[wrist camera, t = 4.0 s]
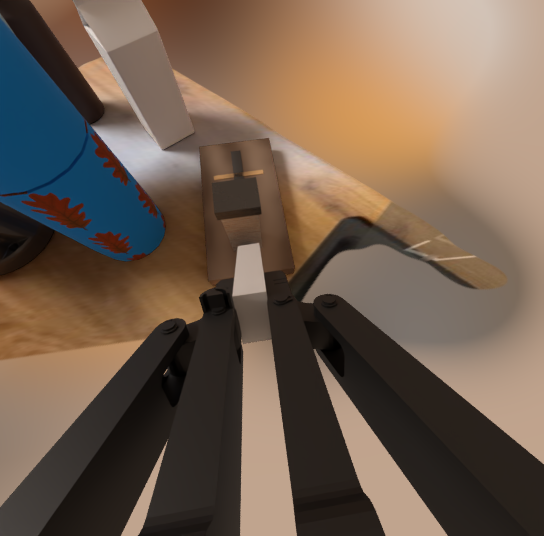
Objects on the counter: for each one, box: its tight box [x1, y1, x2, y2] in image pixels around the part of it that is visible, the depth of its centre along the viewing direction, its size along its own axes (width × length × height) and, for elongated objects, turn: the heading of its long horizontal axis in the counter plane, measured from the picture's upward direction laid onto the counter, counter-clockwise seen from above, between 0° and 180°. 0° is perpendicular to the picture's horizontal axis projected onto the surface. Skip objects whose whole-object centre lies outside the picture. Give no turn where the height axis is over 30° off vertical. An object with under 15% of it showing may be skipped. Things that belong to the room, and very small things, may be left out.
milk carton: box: [73, 0, 195, 150], centre depth 35 cm, size 7×7×19 cm
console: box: [199, 138, 295, 285], centre depth 37 cm, size 12×24×3 cm, turn 9°
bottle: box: [0, 0, 104, 124], centre depth 36 cm, size 7×7×20 cm
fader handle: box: [212, 177, 262, 252], centre depth 28 cm, size 5×4×10 cm
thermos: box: [0, 18, 166, 261], centre depth 25 cm, size 11×11×25 cm
